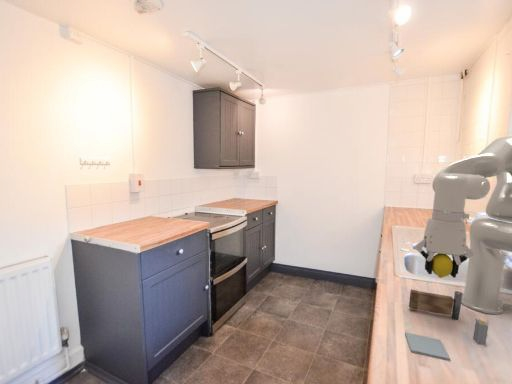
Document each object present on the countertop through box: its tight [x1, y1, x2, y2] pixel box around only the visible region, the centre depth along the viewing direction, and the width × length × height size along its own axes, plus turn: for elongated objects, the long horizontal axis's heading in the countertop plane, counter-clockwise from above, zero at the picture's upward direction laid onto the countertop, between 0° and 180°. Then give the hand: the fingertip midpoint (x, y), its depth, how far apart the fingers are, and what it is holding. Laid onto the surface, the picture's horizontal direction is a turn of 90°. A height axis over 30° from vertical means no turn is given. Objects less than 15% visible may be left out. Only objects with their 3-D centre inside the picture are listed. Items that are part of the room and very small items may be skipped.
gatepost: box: [450, 290, 463, 321], centre depth 89 cm, size 2×2×9 cm
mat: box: [404, 331, 451, 362], centre depth 75 cm, size 9×8×1 cm
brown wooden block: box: [408, 289, 454, 317], centre depth 91 cm, size 12×2×6 cm, turn 71°
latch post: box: [472, 318, 489, 346], centre depth 77 cm, size 2×2×7 cm
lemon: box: [432, 253, 453, 279], centre depth 83 cm, size 6×6×8 cm
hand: (440, 273), depth 83 cm, fingers closed on lemon, 5 cm apart
